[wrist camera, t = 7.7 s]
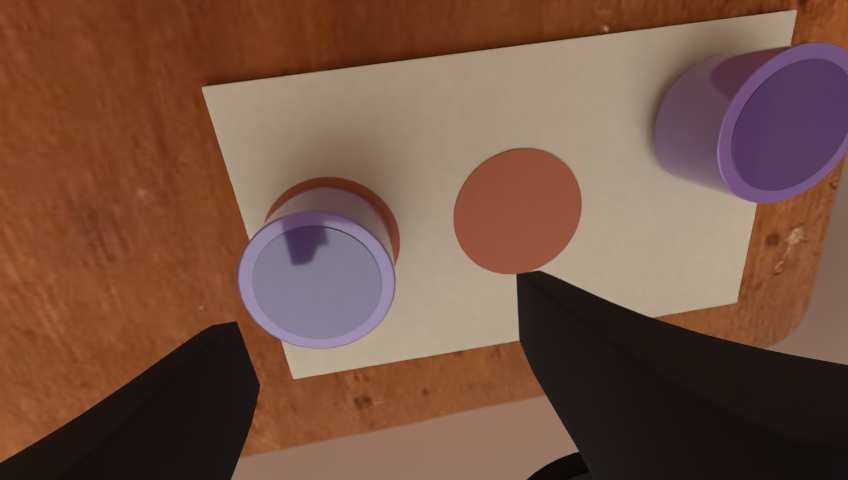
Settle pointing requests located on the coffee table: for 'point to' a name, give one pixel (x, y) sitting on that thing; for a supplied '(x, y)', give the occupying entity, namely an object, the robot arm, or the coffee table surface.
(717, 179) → the purple cup
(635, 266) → the mat
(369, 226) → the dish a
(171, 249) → the coffee table surface
